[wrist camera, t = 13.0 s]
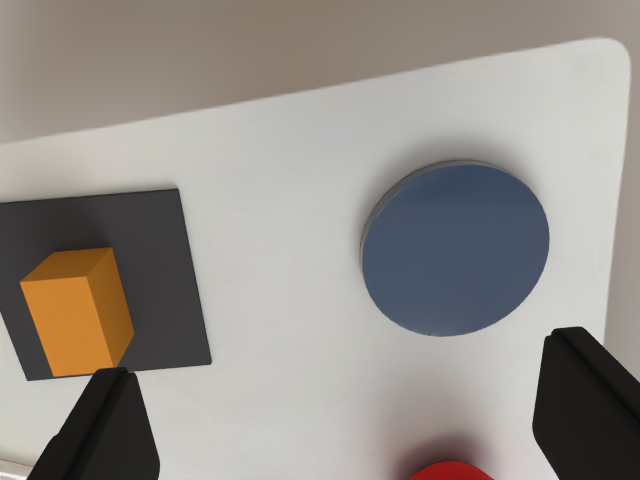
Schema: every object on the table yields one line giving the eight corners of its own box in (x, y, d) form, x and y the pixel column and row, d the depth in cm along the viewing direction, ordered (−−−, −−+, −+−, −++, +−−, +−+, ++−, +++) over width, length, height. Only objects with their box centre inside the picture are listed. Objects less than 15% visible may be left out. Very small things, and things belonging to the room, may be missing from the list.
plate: (356, 167, 36) (359, 172, 34) (551, 152, 36) (561, 156, 35) (362, 334, 41) (365, 344, 40) (530, 319, 42) (538, 328, 40)
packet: (53, 251, 36) (19, 282, 32) (112, 246, 37) (86, 276, 32) (81, 338, 40) (53, 377, 35) (135, 333, 40) (114, 371, 35)
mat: (-37, 205, 35) (-41, 207, 35) (178, 188, 35) (177, 190, 35) (29, 378, 41) (27, 381, 41) (211, 361, 42) (211, 364, 41)
